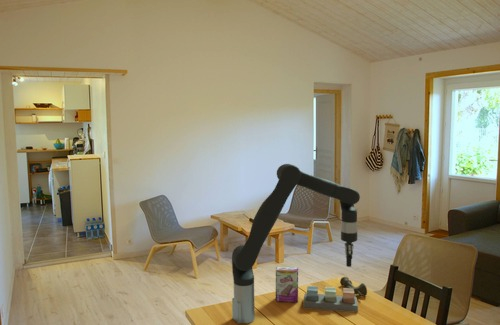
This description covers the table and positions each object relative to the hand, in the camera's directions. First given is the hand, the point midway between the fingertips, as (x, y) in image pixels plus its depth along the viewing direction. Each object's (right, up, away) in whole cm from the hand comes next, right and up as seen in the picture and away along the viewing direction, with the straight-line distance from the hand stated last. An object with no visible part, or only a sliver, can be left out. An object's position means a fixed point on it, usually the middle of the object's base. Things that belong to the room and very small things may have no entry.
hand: (348, 266), depth 190 cm
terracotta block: (0, -17, +2) cm, 17 cm away
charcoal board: (-8, -20, +4) cm, 22 cm away
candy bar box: (-28, -20, +10) cm, 36 cm away
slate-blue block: (-16, -17, +5) cm, 24 cm away
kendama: (+6, -19, +18) cm, 27 cm away
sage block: (-8, -17, +3) cm, 19 cm away
